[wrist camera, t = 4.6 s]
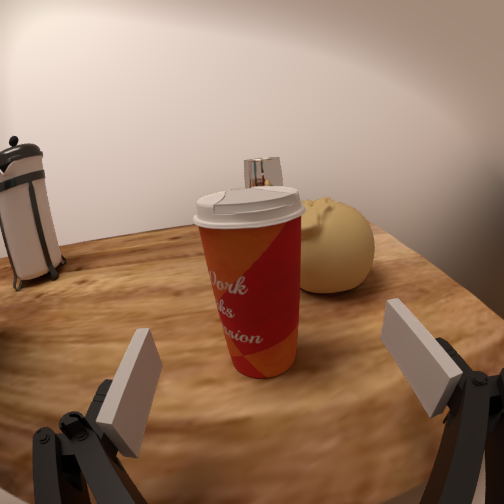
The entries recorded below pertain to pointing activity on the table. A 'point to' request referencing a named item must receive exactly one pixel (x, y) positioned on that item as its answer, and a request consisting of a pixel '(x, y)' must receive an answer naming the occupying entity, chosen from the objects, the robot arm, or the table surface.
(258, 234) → the paper cup
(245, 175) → the beer glass
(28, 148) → the coffee press
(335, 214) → the sculpture
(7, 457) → the table surface
